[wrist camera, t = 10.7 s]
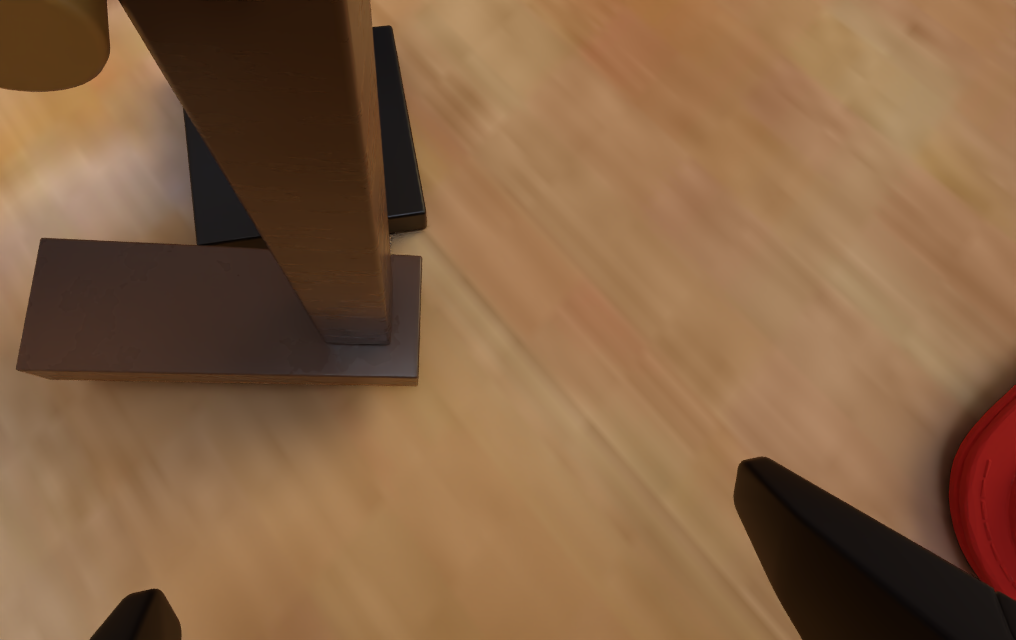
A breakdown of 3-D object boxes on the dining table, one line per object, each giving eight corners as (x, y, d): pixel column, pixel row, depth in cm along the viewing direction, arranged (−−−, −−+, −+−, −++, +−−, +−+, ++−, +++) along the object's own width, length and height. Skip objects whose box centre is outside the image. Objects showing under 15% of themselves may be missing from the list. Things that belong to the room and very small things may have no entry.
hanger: (417, 386, 17) (459, -53, 3) (48, 379, 16) (-2915, -456, 2) (421, 272, 18) (466, -493, 4) (69, 256, 16) (-1830, -999, 2)
